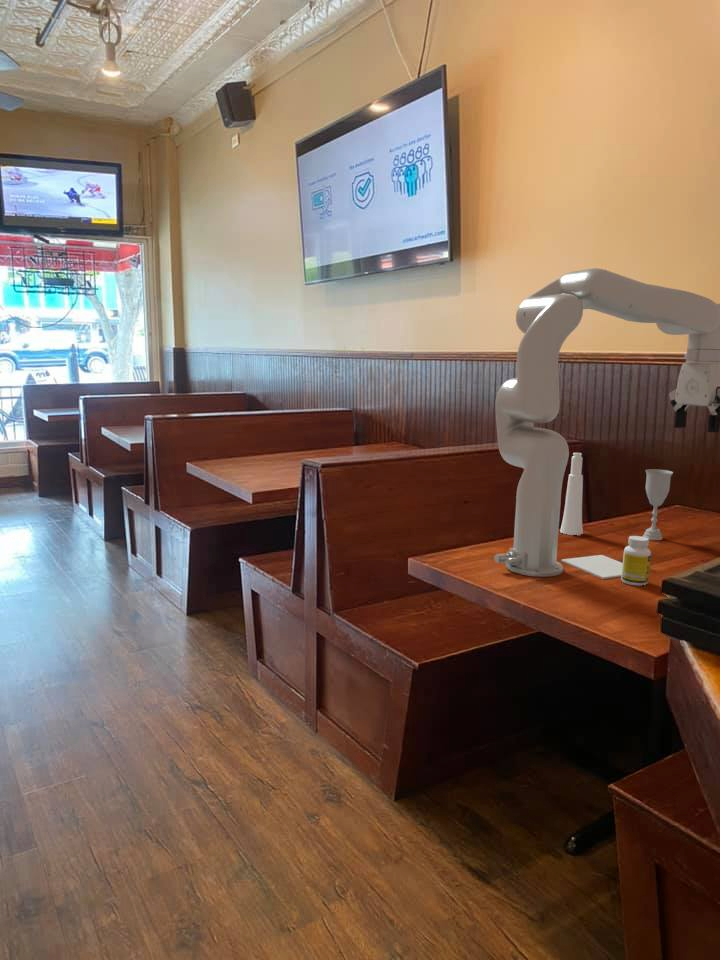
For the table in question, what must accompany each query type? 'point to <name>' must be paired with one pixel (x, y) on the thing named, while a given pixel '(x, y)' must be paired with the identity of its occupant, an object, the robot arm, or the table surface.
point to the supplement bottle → (636, 561)
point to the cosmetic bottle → (574, 499)
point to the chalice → (656, 496)
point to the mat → (597, 566)
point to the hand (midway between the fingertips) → (695, 429)
